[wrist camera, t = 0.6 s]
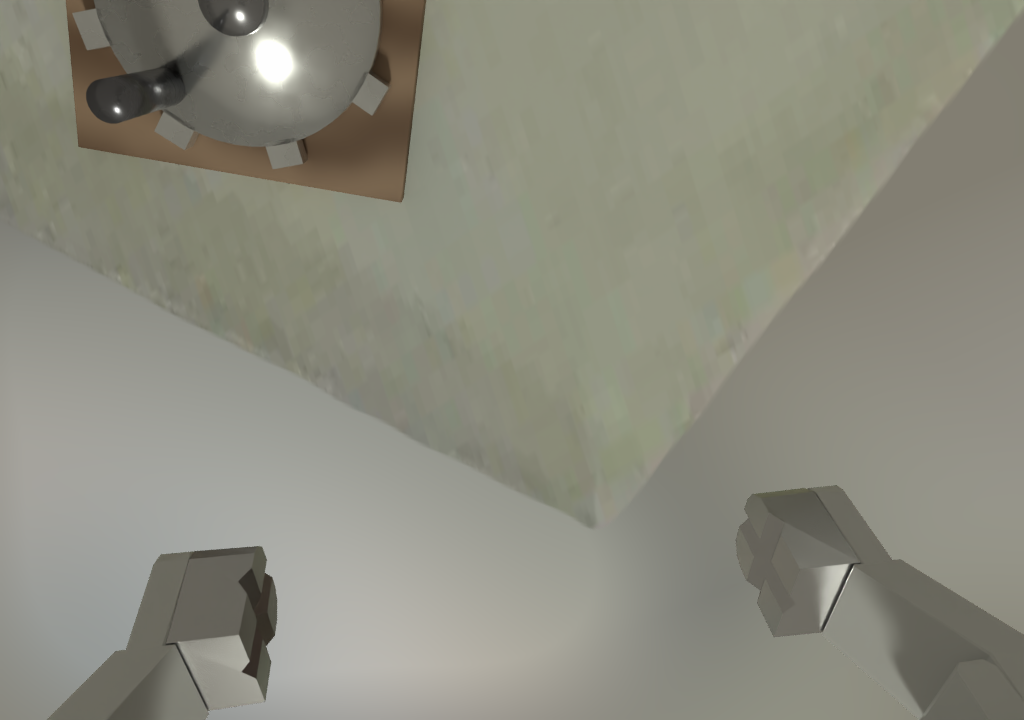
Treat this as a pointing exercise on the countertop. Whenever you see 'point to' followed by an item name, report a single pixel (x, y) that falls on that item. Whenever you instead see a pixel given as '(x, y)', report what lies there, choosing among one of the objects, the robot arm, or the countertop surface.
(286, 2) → the sprocket
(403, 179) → the sprocket base
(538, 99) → the countertop surface
